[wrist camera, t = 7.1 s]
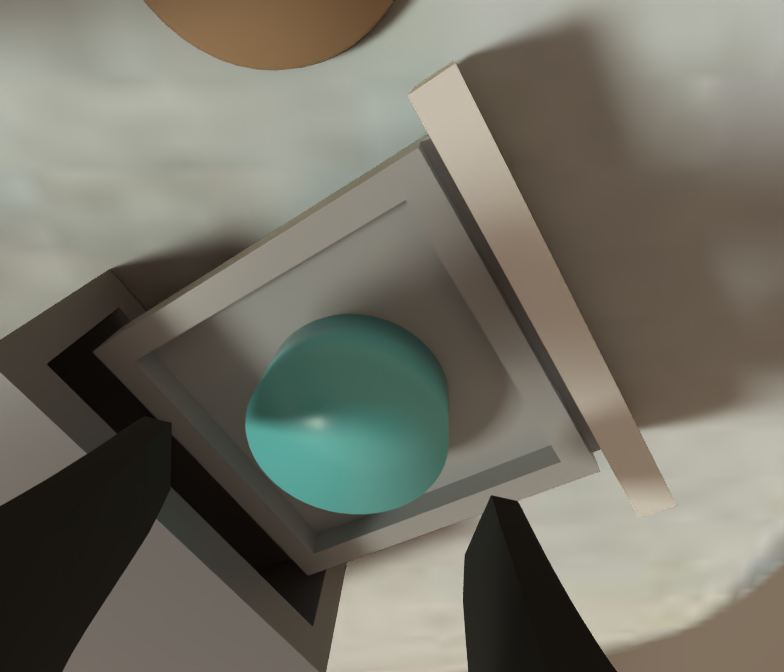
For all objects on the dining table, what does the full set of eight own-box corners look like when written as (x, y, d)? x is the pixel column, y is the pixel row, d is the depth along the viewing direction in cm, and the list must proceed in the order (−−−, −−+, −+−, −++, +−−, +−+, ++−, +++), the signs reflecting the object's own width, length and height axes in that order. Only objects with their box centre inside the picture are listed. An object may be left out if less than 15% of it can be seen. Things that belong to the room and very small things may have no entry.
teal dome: (232, 364, 15) (203, 406, 13) (385, 280, 13) (376, 316, 12) (335, 486, 17) (322, 536, 15) (481, 426, 15) (485, 474, 13)
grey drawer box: (-126, 431, 20) (-288, 539, 15) (109, 269, 16) (-21, 353, 11) (120, 628, 24) (50, 753, 20) (350, 543, 20) (324, 677, 16)
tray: (107, 292, 16) (39, 341, 13) (452, 61, 12) (455, 63, 9) (335, 545, 20) (318, 620, 17) (639, 432, 16) (677, 505, 14)
